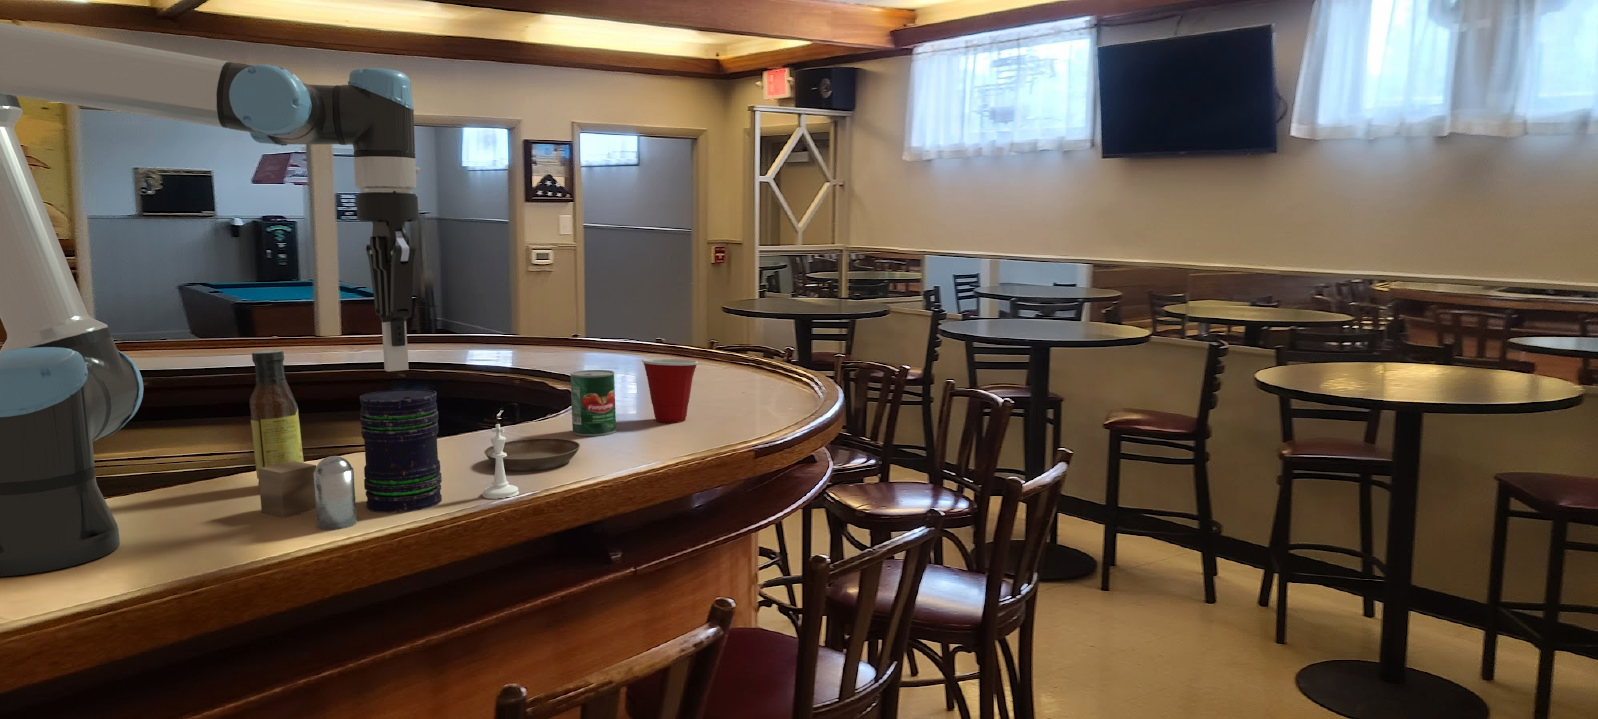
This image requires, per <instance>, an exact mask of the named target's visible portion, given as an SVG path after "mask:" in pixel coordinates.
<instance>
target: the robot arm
mask: <svg viewBox="0 0 1598 719" xmlns="http://www.w3.org/2000/svg"><path fill="white" fill-rule="evenodd" d="M18 97H21V98H28V99H34V100H41V101H48V102H53V103H60V104H67V105H72V106H73V105H74V106H78V107H79V106H81V107H86V108H93V109H100V110H108V111H112V112H113V111H114V112H120V113H126V114H133V115H139V116H147V117H152V118H159V119H165V120H173V121H179V122H186V123H192V124H193V123H194V124H199V125H205V126H210V127H211V126H213V127H217V128H224V129H230V130H233V131H234V130H235V131H241V132H247V133H249V134H250V137H251V138H252V139H253V141H255V142H257V143H259V144H271V145H276V146H277V145H279V146H282V147H283V146H284V147H285V146H288V145H309V146H310V145H312V146H313V145H340V146H347V145H350V146H352V147H353V148H352V149H353V172H354V174H353V176H354V187H355V188H356V189H358V190H359V191H360V192H359V193H357V195H356V196H355V197H356V200H355V201H356V202H355V203H356V213H357V214H356V216H357V220H358V221H359V222H362V223H372V231H371V232H372V234H371V236H370V237H369V244H366V247H365V251H366V255H367V258H368V263H369V270H370V279H371V287H372V293H373V302H374V308H375V310H374V312H375V314H376V316H379V319H380V323H381V331H382V333H381V334H382V350H383V366H384V371H386V372H397V371H409V369H410V368H409V354H408V353H409V352H408V350H409V348H408V335H407V332H408V331H407V321H408V318H411V317H412V316H413V292H414V291H413V289H414V286H413V285H414V282H413V281H414V262H415V261H414V260H415V256H416V246H415V245H411V244H410V237H409V236H408V233H407V229H406V228H407V227H406V223H412V222H417V221H418V220H419V216H420V215H419V200H418V196H417V194H416V193H413V190H415V189H416V188H417V175H418V174H420V167H419V166H416V142H415V140H416V139H415V136H416V135H415V115H414V113H415V112H414V111H415V110H414V109H415V108H414V105H413V103H414V102H413V94H412V83H411V80H410V78H409V77H408V75H406V74H405V73H403V72H402V71H400V70H394V69H388V68H378V67H377V68H375V67H374V68H373V67H372V68H371V67H368V68H357V69H352V70H351V71H350V72H349V78H348V81H347V84H341V85H337V84H336V85H331V84H330V85H328V84H326V85H325V84H310V83H309V84H308V83H305V82H303V80H301V79H300V78H299V77H298V76H297V75H295V74H294V73H293V72H290V71H288V70H287V69H286V68H283V67H280V66H276V65H271V64H255V65H250V64H245V63H239V62H231V61H228V60H224V59H223V60H222V59H218V58H210V57H207V56H206V57H205V56H199V55H194V54H188V53H187V54H186V53H183V52H177V51H176V52H175V51H169V50H166V49H165V50H164V49H157V48H151V47H146V46H141V45H135V44H134V45H133V44H128V43H122V42H117V41H111V40H106V39H105V40H104V39H99V38H93V37H87V36H83V35H78V34H77V35H75V34H70V33H65V32H59V31H53V30H48V29H47V30H46V29H41V28H35V27H30V26H25V25H24V26H22V25H18V24H12V23H5V22H2V21H1V22H0V320H1V323H2V326H3V327H4V330H5V332H6V340H5V342H4V343H3V344H2V347H1V348H0V577H9V576H10V577H12V576H22V575H29V574H38V573H44V572H49V571H54V570H55V571H56V570H61V569H65V568H71V567H73V566H77V565H81V564H84V563H85V564H86V563H88V562H92V561H94V560H97V559H99V558H100V559H101V558H103V557H104V556H107V555H109V554H110V553H112V552H114V551H116V550H117V549H118V548H119V547H120V545H121V541H120V540H121V539H120V530H119V525H118V523H117V521H116V519H115V517H114V516H113V513H112V511H111V509H110V508H109V506H108V503H107V501H106V499H105V497H104V496H103V494H102V492H101V490H100V488H99V486H98V483H97V477H96V470H95V469H96V467H95V455H94V445H93V442H95V441H99V440H102V439H105V438H108V437H111V436H112V435H114V434H115V433H116V432H118V431H120V430H121V429H122V428H123V427H124V426H125V425H126V424H127V423H128V422H129V421H130V420H131V419H132V418H133V417H135V415H136V413H137V412H138V411H139V408H140V406H141V404H142V400H143V398H144V381H143V380H144V379H143V377H142V375H141V372H140V368H138V366H137V364H136V363H135V362H134V361H133V360H132V359H131V358H130V357H129V356H128V355H126V354H125V353H124V352H122V351H120V350H119V349H118V348H117V346H116V343H115V341H114V338H113V336H112V334H111V331H110V328H109V326H108V324H107V323H104V322H102V321H99V320H97V319H95V318H93V317H91V316H90V315H89V314H88V311H87V309H86V306H85V303H84V301H83V299H82V296H81V294H80V290H79V289H78V285H77V283H76V281H75V279H74V276H73V274H72V272H71V271H72V270H71V269H70V266H69V263H68V261H67V259H66V256H65V253H64V251H63V249H62V246H61V243H60V242H59V239H58V236H57V233H56V231H55V228H54V226H53V223H52V221H51V218H50V216H49V214H48V211H47V208H46V206H45V203H44V201H43V199H42V196H41V194H40V191H39V188H38V186H37V184H36V183H37V182H36V181H35V179H34V176H33V175H34V174H33V173H32V171H31V168H30V166H29V163H28V161H27V158H26V156H25V153H24V150H23V148H22V146H21V143H20V141H19V138H18V135H17V133H16V131H15V129H16V128H15V126H16V125H17V124H18V122H19V121H20V119H21V117H22V115H23V114H24V111H23V109H22V107H21V105H20V102H19V99H18Z"/></svg>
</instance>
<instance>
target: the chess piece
mask: <svg viewBox="0 0 1598 719" xmlns="http://www.w3.org/2000/svg"><path fill="white" fill-rule="evenodd" d="M491 432H492V433H495V436H493V437H491V438H490V442H491V444H492V446H493V447H494V449H495V453H493V454H492V456H491V457H493V458H496V465H495V464H494V465H495V466H494V467H495V468H494V476H493V477H494V478H493V482H492V483H491V484H492V485H490V486H488V487H486V488H484V489H483V491H482V497H483V498H486V499H490V500H491V499H492V500H499V499H498V498H503V499H506V498H505V497H510V498H513V496H514V497H516V496H518V495H519V494H520V492H519V487H518V486H516V485H513V484H509V483H510V482H509V481H507V476H506V472H505V470H506V469H504V463H503V457H506V456H507V454H506V453H504V452H503V448H504V444H505V442H507V441H506V440H507V438H506V436H502V435H501V433H505V428H501V424H500V423H497V424H495V428H493V427H492V428H491Z"/></svg>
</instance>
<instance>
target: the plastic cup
mask: <svg viewBox="0 0 1598 719" xmlns="http://www.w3.org/2000/svg"><path fill="white" fill-rule="evenodd" d="M641 362H642V363H643V366H644V370H645V373H646V374H645V375H646V379H647V384H648V389H649V394H650V400H651V405H652V409H653V414H654V418H655V421H656V422H658V423H662V424H664V423H665V424H674V423H681V422H684V421H686V420H687V419H686V418H687V416H688V407H689V403H690V397H691V391H692V384H693V378H694V375H695V371H696V367H697V365H698V364H699V361H698V360H691V359H682V358H681V359H680V358H644V359H641Z"/></svg>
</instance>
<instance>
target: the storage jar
mask: <svg viewBox="0 0 1598 719" xmlns="http://www.w3.org/2000/svg"><path fill="white" fill-rule="evenodd" d="M437 398H438V397H437V391H435V390H430V389H420V388H419V389H418V388H416V389H415V388H410V389H408V388H407V389H406V388H405V389H389V390H381V391H374V392H368V393H365V394H362V395H360V396H359V403H360V405H361V407H360V416H359V417H360V418H359V419H360V420H359V421H360V426H361V432H360V433H361V436H362V439H363V442H364V456H365V458H364V459H365V465H364V467H363V471H364V472H363V474H364V479H363V486H364V490H365V497H366V498H367V499H366V500H367V501H366V502H365V503H366V504H365V505H366V506H365V507H366V509H368V510H369V511H371V512H375V513H383V514H385V513H386V514H392V513H393V514H395V513H409V512H415V511H420V510H421V511H422V510H426V509H430V508H431V507H435V506H437V505H438V504H441V502H442V501H443V496H442V494H441V490H442V485H441V484H442V482H443V480H442V479H443V478H442V472H441V462H440V459H439V454H438V437H437V435H438V433H439V428H440V426H439V422H438V420H439V410H438V402H436V401H437Z"/></svg>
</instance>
